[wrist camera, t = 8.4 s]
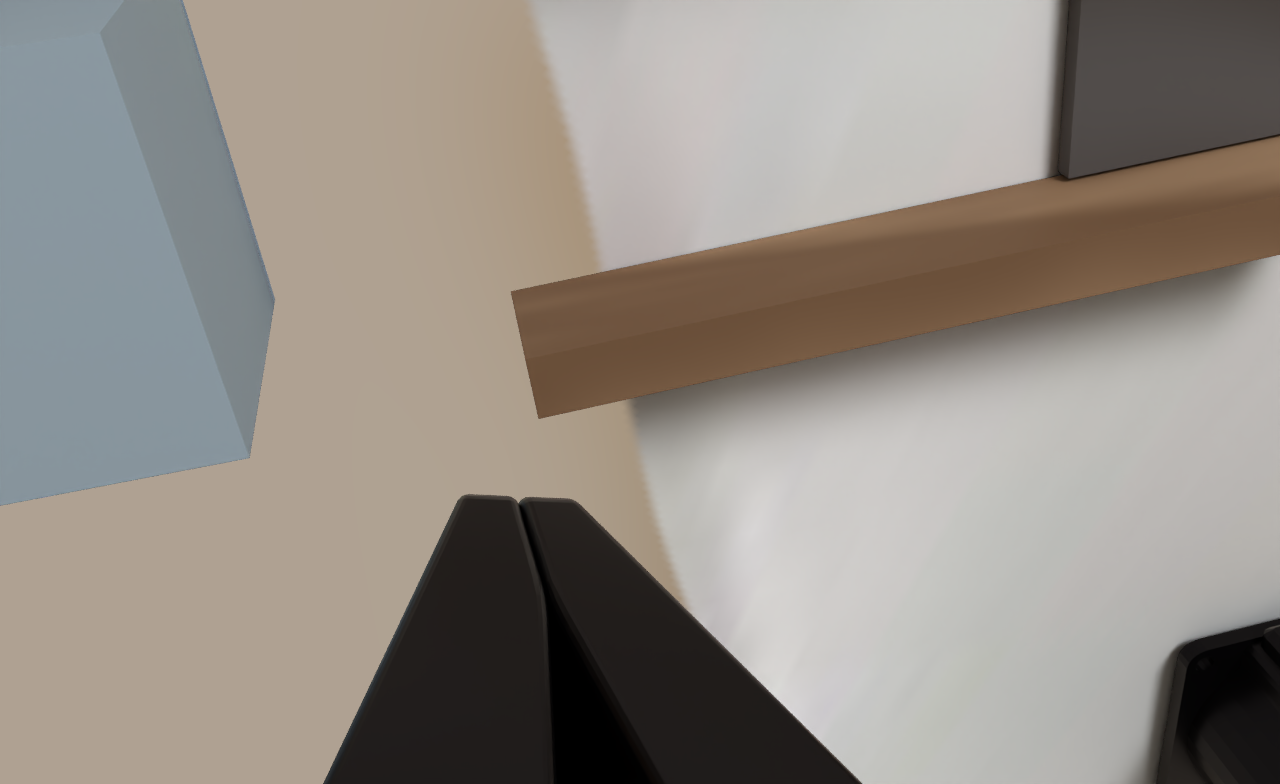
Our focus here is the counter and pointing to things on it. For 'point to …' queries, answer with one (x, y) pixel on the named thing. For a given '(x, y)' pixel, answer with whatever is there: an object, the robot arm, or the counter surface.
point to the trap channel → (965, 224)
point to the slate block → (119, 253)
